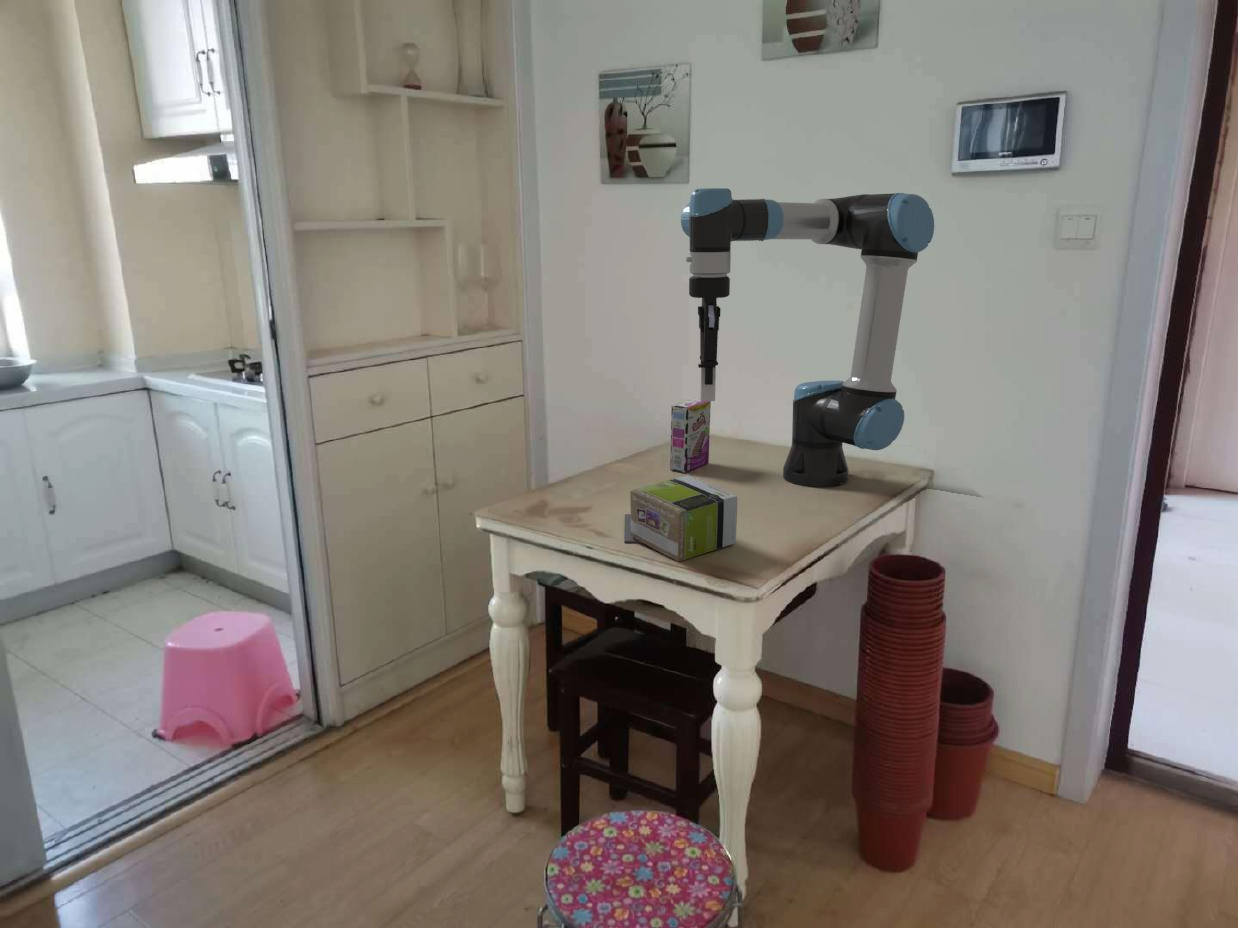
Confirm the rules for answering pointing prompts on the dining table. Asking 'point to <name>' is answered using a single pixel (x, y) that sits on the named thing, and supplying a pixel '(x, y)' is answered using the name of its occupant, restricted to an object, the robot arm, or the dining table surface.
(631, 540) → the mat
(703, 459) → the candy bar box
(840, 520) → the dining table surface
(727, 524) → the tea box
